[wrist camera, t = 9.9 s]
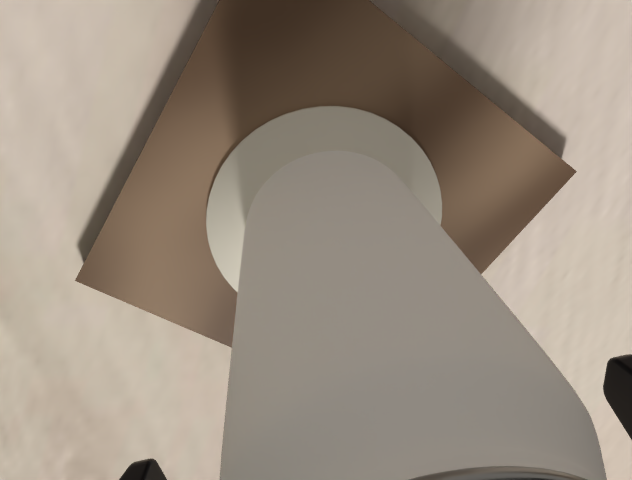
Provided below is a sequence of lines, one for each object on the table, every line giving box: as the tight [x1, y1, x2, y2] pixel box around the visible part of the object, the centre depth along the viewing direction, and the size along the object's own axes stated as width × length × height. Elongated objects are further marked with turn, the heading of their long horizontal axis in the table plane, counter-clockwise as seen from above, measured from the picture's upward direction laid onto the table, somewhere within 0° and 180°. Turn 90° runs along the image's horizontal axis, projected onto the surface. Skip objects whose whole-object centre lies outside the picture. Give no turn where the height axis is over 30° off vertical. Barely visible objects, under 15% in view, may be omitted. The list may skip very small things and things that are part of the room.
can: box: [220, 151, 607, 480], centre depth 11 cm, size 6×6×12 cm
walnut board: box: [75, 0, 577, 347], centre depth 17 cm, size 14×14×1 cm
